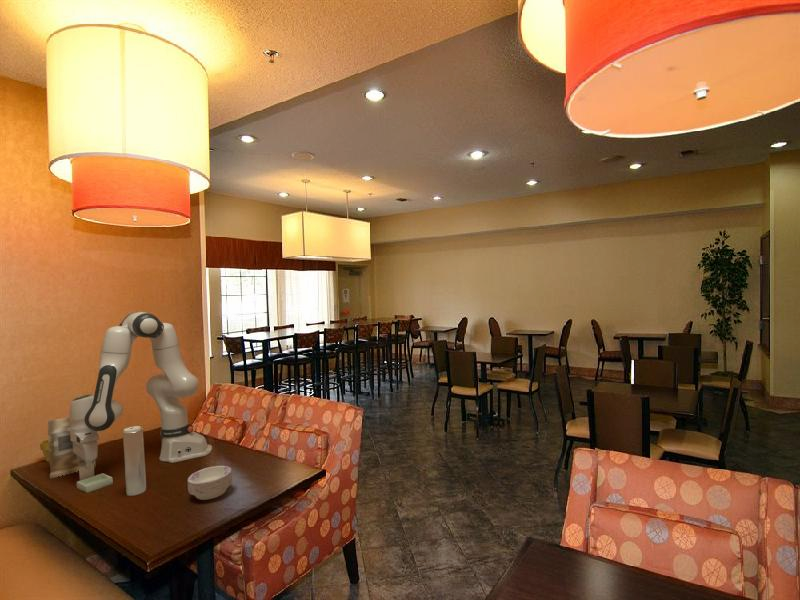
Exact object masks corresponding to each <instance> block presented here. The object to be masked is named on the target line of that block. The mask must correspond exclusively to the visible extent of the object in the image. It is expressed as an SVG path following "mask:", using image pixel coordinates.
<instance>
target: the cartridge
mask: <svg viewBox="0 0 800 600" xmlns="http://www.w3.org/2000/svg"><path fill="white" fill-rule="evenodd" d="M85 465H86V462H85V461H83V462H80V463H79V472H78V476H79V481H81V480H84V479H87V478H90V477H93V476H95V468H94V460H93V461H92V468H91V469H90V470H86V469H85Z"/></svg>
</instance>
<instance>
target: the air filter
mask: <svg viewBox="0 0 800 600" xmlns="http://www.w3.org/2000/svg"><path fill="white" fill-rule="evenodd" d="M122 440H123V453H124V454H123V455H124V456H123V457H124V474H125V488H126V489H125V491H126V496H128V497H129V496H130V497H131V496H132V497H133V496H137V495H138V496H139V495H140V494H143V493H145V492H146V490H147V478H146V475H147V474H146V462H145V460H146V459H145V446H144V445H145V442H144V429H143V428H142V427H141V426H140V425H135V426H134V425H133V426H130V427H129V426H128V427H125V428H124V429H123V432H122Z"/></svg>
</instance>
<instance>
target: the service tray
mask: <svg viewBox="0 0 800 600" xmlns="http://www.w3.org/2000/svg"><path fill="white" fill-rule="evenodd" d="M113 479H114V478H113V477H112V476H110V475H109V474H108V475H107V474H106V473H103V472H102V473H100V474H96V475H94V476H93V477H90V478H87V479H84V480H81V481H80V480H78V481H76V488H77V489H78V490H80V491H81V492H83V493H85V494H88V493H90V492H93V491H96V490H99V489H102V488H105V487H107V486H110V485H113V484H114V482H113V481H114V480H113Z"/></svg>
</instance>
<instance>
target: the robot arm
mask: <svg viewBox="0 0 800 600" xmlns="http://www.w3.org/2000/svg"><path fill="white" fill-rule="evenodd" d="M104 333H105V334H104V335H103V340H102V343H101V346H100V353H99V361H98V362H99V363H98V374H97V381H96V385H95V390H94V394H85V395H81V396H78V397H75V398H74V399H72V401H71V402H70V405H69V417H70V421H71V427H70V439H71V441H72V442H73V453H75V454H76V455H77V458H78V462H79V463H80V462H83V461H85V462H86V465H85V469H86V470H90V469H91V468H92V461H93V460H95V461H96V460H97V458H98V450H99V449H98V447H99V445H98V440H100V434H99V432H103V431H106V430H107V429H109V428H110V427H111V426H112V424H114V422H116V421H117V420H118V419H119V418H120V417H121V416H122V414H123V406H122V404H121V403H120V402H119V401H117V400H115V399H113V398H114V393H115V392H114V391H115V387H116V383H117V381H118V379H119V378H120V376H121V375H122V374H123V373H124V372H125V371H126V370H127V368H128V366H129V363H130V360H131V356H132V349H133V343H134V341H135V340H136V339H137V338H138V337H139V338H145V339H146V338H147V339H148V338H149V340H150V342H151V348H152V354H153V360H154V366H156V367H157V368H158V369H160V370H161V371H162V372H163V373H160V374H156V375H152V376H151V377H149V378H148V380H147V381H146V383H145V384H146V385H145V390H146V393H147V395H150V396H151V397H152V398H153V399H154V402H155V403H156V405H157V407H158V409H159V414H160V421H161V423H160V424H161V428H160V439H161V448H160V455H159V458H158V459H159V461H161V462H168V463H169V464H171V463H178V462H182V461H186V460H191V459H192V460H193V459H196V458H202V457H206V456H208V455H209V454H210V453H211V452H213V451H212V450H213V446H212V445H211V444H208V442H207V438H205V436H204V435H203V434H201V433H199V432H196V431H194V427H193V423H191V424H190V423H189V422H188V421H189V417H188V408H187V407H186V405H185V404H183V403H182V402H181V401H180V399H181V398H182V399H183V398H188V397H192V396H194V395H195V394H196V393H197V392H198V391H199V388H200V382H199V379H198V377H197V376H196V375H195V374H193V373H191V372H190V371H189V369H188V368H187V366H186V364H185V363H184V361H183V358H182V354H181V353H182V352H181V347H180V344H179V343H180V342H179V339H178V334H177V332H176V329H175V327H174V325H173V324H171V323H169V322H162V321H161V320H160V319H159V317H157V316H156V315H154V314H152V313H149V312H145V311H135V312H134V311H133V312H131V313H128V314H127V315H126V316H125V317H124V319H122V321H121V322H120V324H119V325H115V326H111V327H109V328H108V329H106V331H105V332H104ZM179 398H180V399H179Z"/></svg>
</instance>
